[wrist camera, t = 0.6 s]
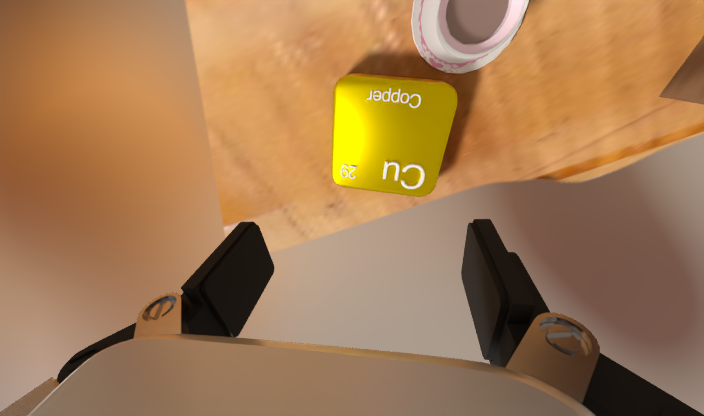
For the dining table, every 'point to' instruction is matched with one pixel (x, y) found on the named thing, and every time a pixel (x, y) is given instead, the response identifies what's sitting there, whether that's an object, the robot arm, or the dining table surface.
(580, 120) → the dining table surface
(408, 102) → the element tile
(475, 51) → the teacup
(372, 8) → the dining table surface
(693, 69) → the walnut upright plate
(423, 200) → the dining table surface
